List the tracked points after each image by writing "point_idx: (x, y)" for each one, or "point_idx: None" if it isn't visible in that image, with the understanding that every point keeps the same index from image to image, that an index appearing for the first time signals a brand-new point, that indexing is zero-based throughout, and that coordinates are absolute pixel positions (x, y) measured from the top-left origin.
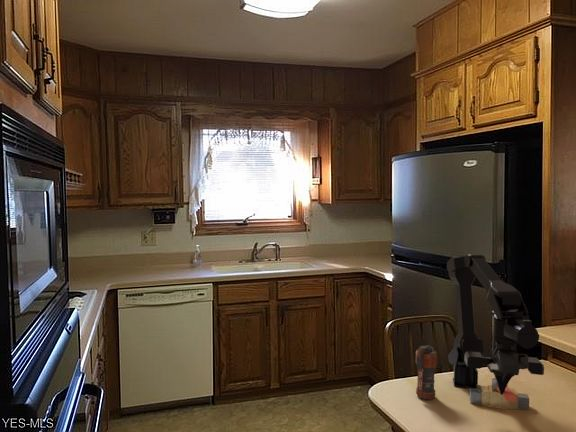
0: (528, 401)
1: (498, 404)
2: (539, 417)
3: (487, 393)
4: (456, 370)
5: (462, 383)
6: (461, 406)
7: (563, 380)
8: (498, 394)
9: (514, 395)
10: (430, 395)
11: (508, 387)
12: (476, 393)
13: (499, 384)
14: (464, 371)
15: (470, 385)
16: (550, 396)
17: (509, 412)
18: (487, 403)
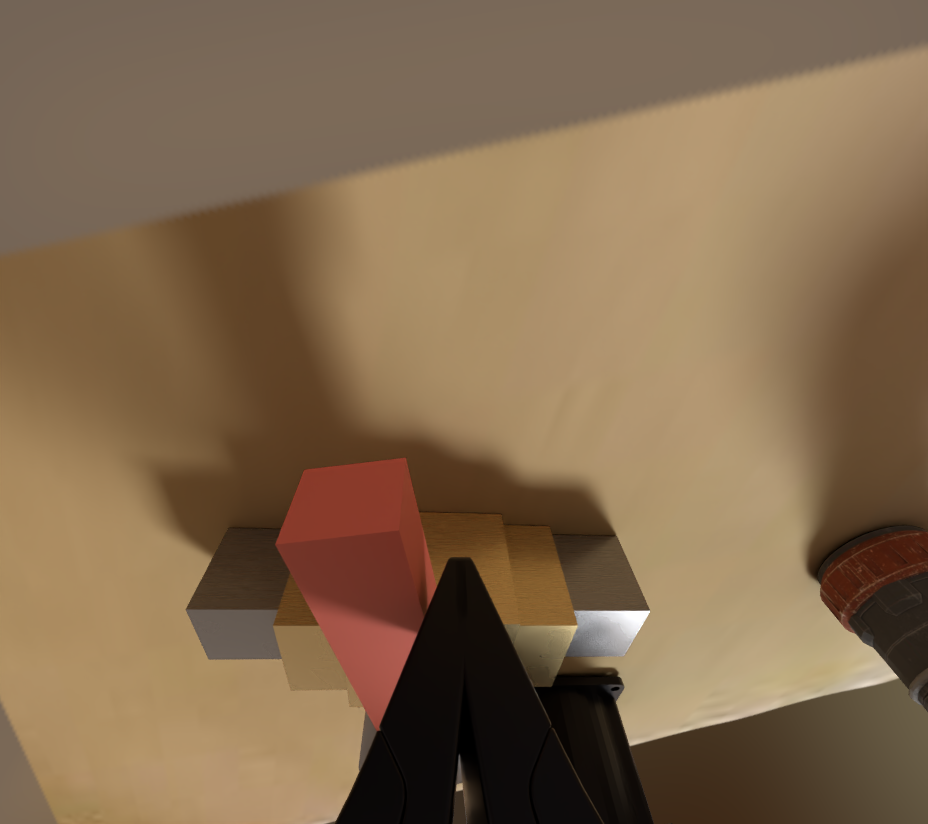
0: (205, 583)
1: (443, 533)
2: (143, 434)
3: (531, 610)
4: (633, 789)
5: (584, 700)
6: (705, 486)
7: (78, 788)
8: None
9: (296, 533)
10: (911, 551)
11: (352, 686)
12: (605, 605)
13: (524, 704)
14: (597, 791)
15: (538, 693)
16: (112, 681)
17: None
18: (515, 539)
